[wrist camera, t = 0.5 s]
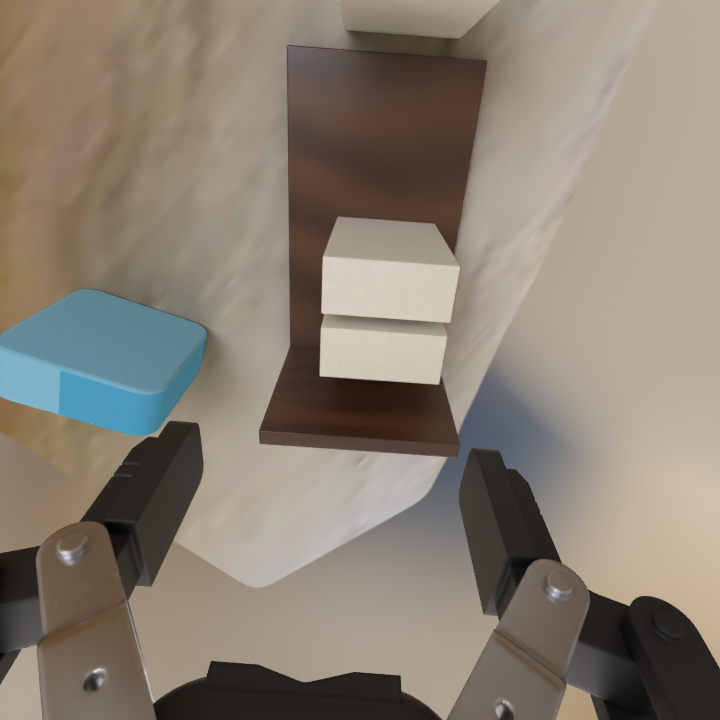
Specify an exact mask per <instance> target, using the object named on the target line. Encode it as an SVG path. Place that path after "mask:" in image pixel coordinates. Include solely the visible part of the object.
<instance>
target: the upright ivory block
mask: <svg viewBox="0 0 720 720" xmlns="http://www.w3.org/2000/svg"><path fill="white" fill-rule="evenodd" d="M499 1H500V0H338V3H339V7H340V10H341V14H342V17H343V20H344V24H345V27H346V30H348V31H361V32H373V33H386V34H399V35H411V36H424V37H437V38H449V39H460V38H461V37H462V36H463V35H464V34H465V33H466V32H468V31H469V30H470V29H471V28H472V27H473V26H474V25H475V24H476V23H477V22H478V21H479V20H480V19H481V18H482V17H483V16H484V15H485V14H486V13H488V12H489V11H490V10H491V9H492V8H493V7H494V6H495V5H496V4H497V3H498V2H499Z"/></svg>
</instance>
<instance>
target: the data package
mask: <svg viewBox="0 0 720 720" xmlns="http://www.w3.org/2000/svg"><path fill="white" fill-rule="evenodd" d="M206 338H207V331H206V330H205V328H204V327H202V326H201V325H199V324H197V323H195V322H192V321H189V320H186V319H183V318H180V317H177V316H174V315H171V314H168V313H165V312H162V311H159V310H156V309H153V308H150V307H147V306H144V305H141V304H138V303H135V302H132V301H129V300H126V299H123V298H120V297H117V296H114V295H111V294H108V293H105V292H102V291H98V290H92V289H82V290H77V291H75V292H73V293H71V294H69V295H68V296H66V297H64V298H62V299H61V300H59V301H57V302H55V303H54V304H52V305H50V306H48V307H47V308H45V309H43V310H41V311H40V312H38V313H36V314H34V315H33V316H31V317H29V318H27V319H26V320H24V321H22V322H20V323H19V324H17V325H15V326H13V327H12V328H10V329H8V330H6V331H5V332H3V333H1V334H0V396H1V397H3V398H5V399H7V400H10V401H14V402H17V403H21V404H24V405H28V406H31V407H35V408H38V409H42V410H45V411H49V412H52V413H55V414H59V415H62V416H66V417H69V418H73V419H76V420H80V421H83V422H87V423H90V424H94V425H97V426H101V427H104V428H108V429H111V430H114V431H118V432H121V433H125V434H128V435H133V436H145V435H149V434H152V433H154V432H155V431H157V430H158V429H159V428H160V427H161V425H162V424H163V422H164V421H165V420H166V418H167V417H168V415H169V414H170V412H171V411H172V409H173V408H174V407H175V405H176V404H177V402H178V401H179V399H180V398H181V397H182V395H183V394H184V392H185V391H186V389H187V388H188V386H189V385H190V384H191V382H192V381H193V379H194V378H195V376H196V375H197V373H198V372H199V369H200V365H201V361H202V356H203V352H204V347H205V343H206Z"/></svg>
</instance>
